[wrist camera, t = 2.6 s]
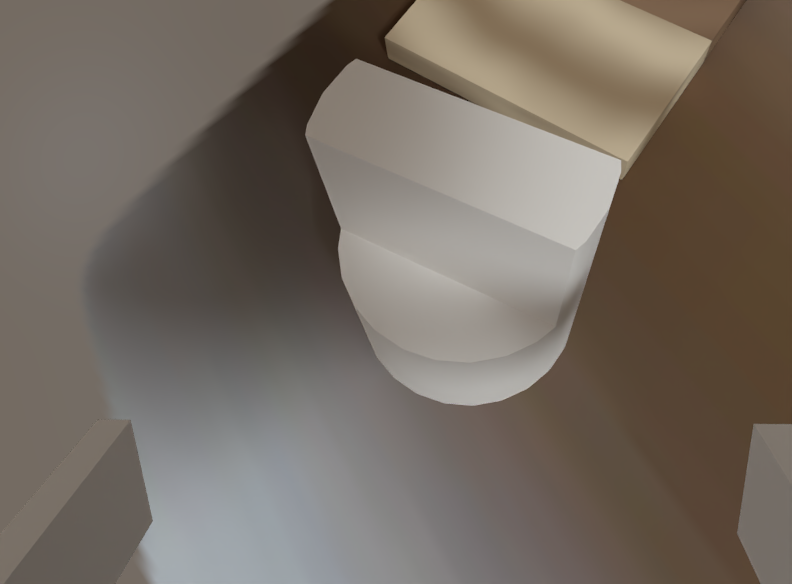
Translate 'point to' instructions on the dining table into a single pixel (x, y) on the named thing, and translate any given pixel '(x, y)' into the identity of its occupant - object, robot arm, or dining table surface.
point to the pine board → (566, 60)
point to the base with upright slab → (457, 232)
